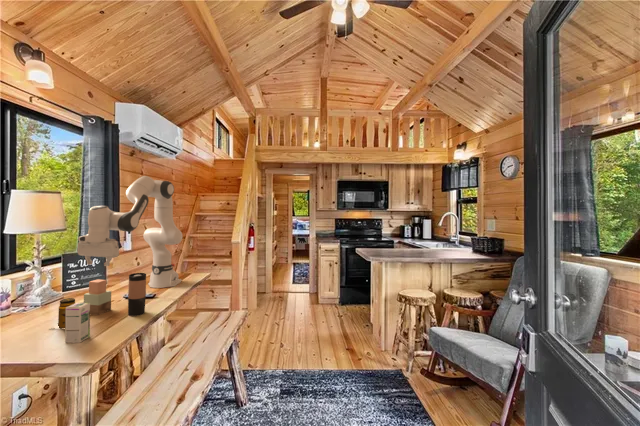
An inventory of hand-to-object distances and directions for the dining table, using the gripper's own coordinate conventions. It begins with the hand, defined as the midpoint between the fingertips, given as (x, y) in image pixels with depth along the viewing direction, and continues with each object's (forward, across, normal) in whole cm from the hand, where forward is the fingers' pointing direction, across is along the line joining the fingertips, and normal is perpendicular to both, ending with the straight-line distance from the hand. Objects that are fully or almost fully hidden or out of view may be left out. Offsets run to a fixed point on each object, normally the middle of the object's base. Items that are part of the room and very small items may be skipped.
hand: (98, 265), depth 153 cm
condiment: (+24, -1, +18) cm, 30 cm away
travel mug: (+24, -20, -2) cm, 31 cm away
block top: (+19, 0, 0) cm, 19 cm away
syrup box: (+24, -18, +29) cm, 42 cm away
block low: (+24, 0, 0) cm, 24 cm away
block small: (+14, 0, 0) cm, 14 cm away
